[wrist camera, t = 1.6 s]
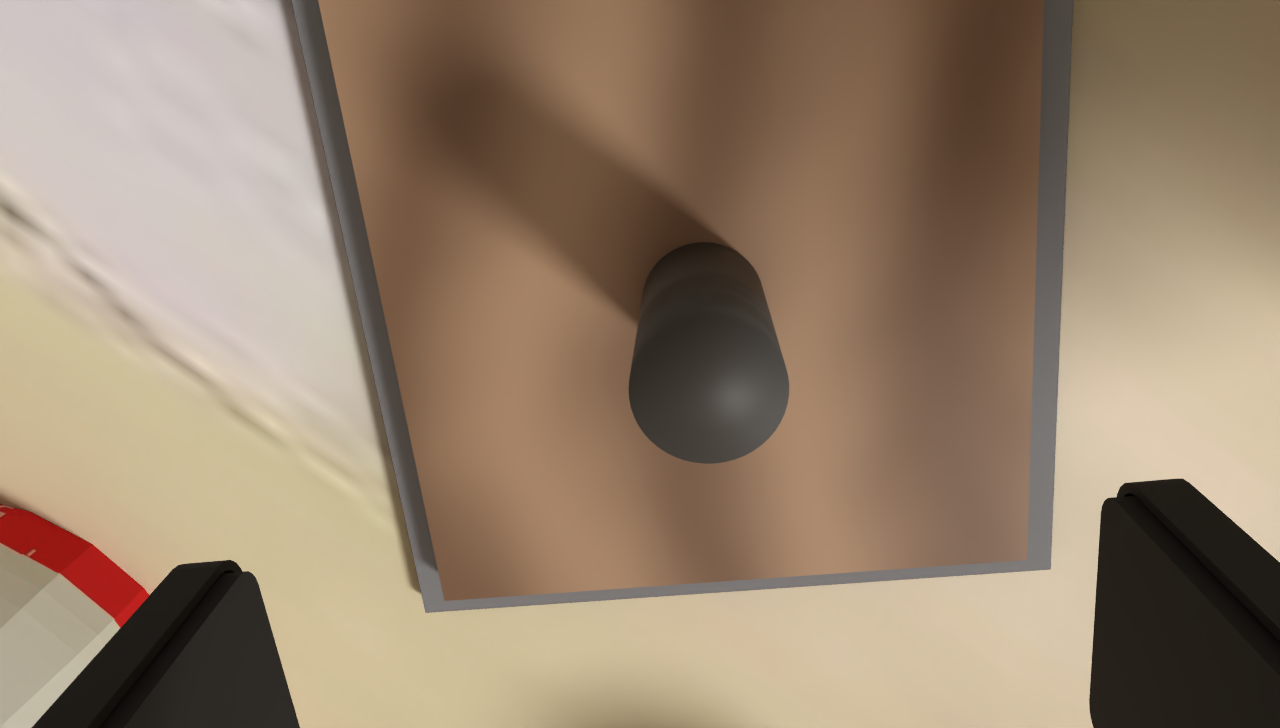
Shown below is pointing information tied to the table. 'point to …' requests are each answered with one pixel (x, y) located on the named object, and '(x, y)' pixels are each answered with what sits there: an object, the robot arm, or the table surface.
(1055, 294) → the mat
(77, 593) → the kitchen timer
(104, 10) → the table surface
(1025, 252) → the lid
